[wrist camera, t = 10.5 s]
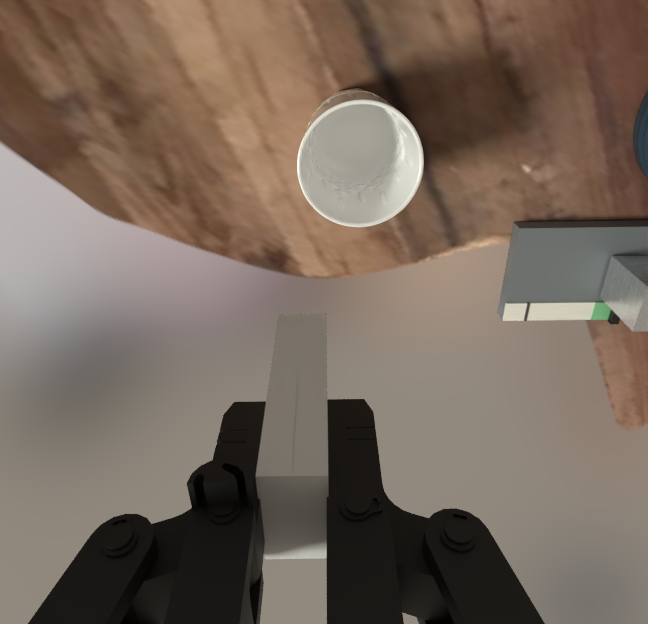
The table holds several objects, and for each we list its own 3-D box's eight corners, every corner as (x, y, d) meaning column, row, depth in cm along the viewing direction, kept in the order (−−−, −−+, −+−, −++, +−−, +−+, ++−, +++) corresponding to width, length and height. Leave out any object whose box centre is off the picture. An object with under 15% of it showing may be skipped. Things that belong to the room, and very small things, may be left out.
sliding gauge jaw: (593, 319, 47) (624, 355, 42) (611, 256, 44) (647, 286, 39) (626, 318, 47) (661, 354, 42) (646, 255, 44) (687, 286, 39)
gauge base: (497, 312, 49) (528, 365, 42) (513, 222, 45) (551, 264, 37) (688, 309, 49) (752, 362, 42) (723, 219, 44) (803, 260, 37)
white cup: (423, 132, 41) (450, 165, 32) (352, 202, 44) (359, 250, 35) (352, 55, 38) (361, 69, 29) (281, 136, 41) (271, 170, 32)
